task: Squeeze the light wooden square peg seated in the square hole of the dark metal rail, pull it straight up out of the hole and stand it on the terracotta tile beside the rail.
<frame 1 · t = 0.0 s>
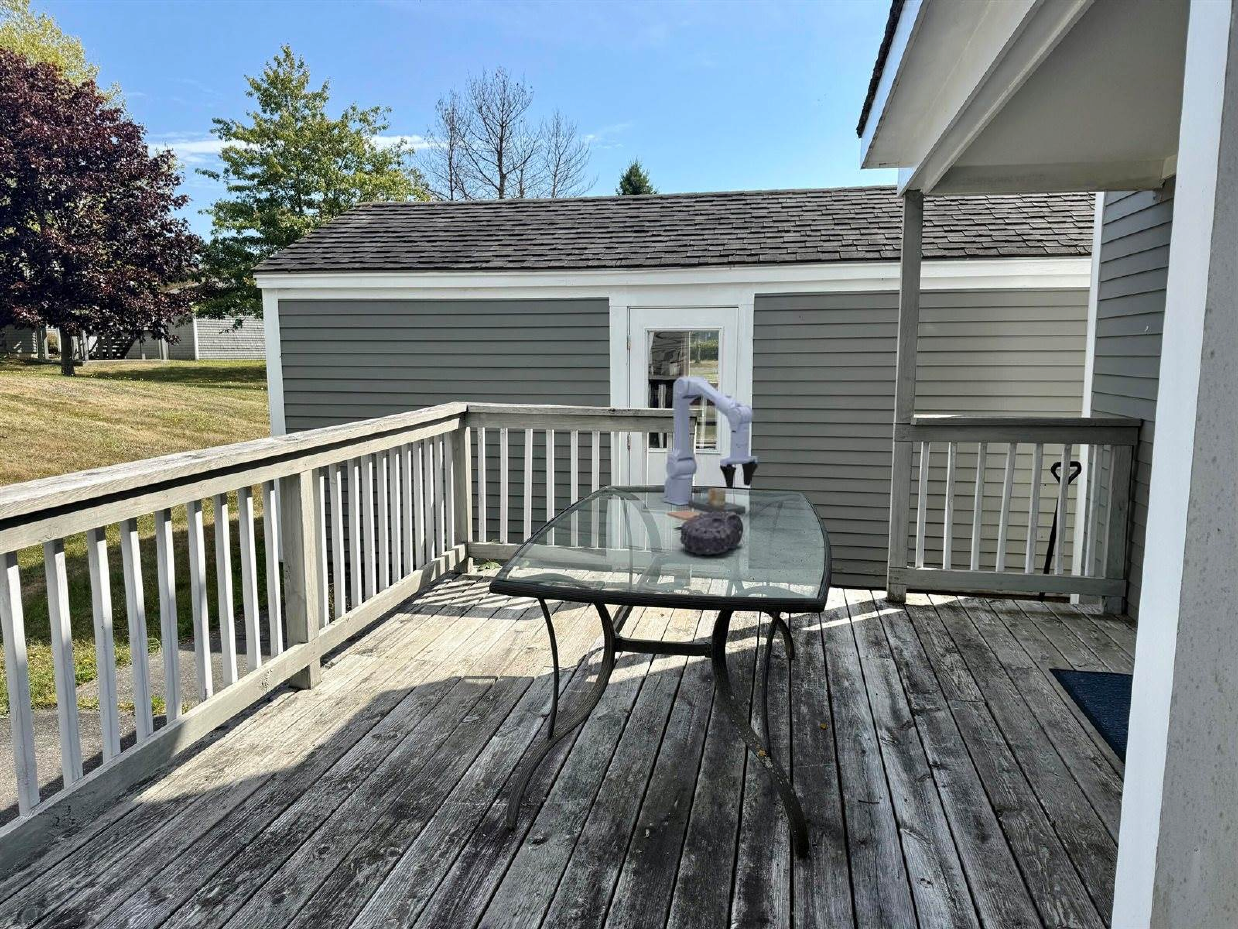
hand: (738, 486, 272), 10 cm above the table, tool pointing down, fingers open, 7 cm apart
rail: (716, 510, 284), on the table
tile: (686, 515, 275), on the table
peg: (716, 500, 283), in the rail
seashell: (714, 551, 233), on the table
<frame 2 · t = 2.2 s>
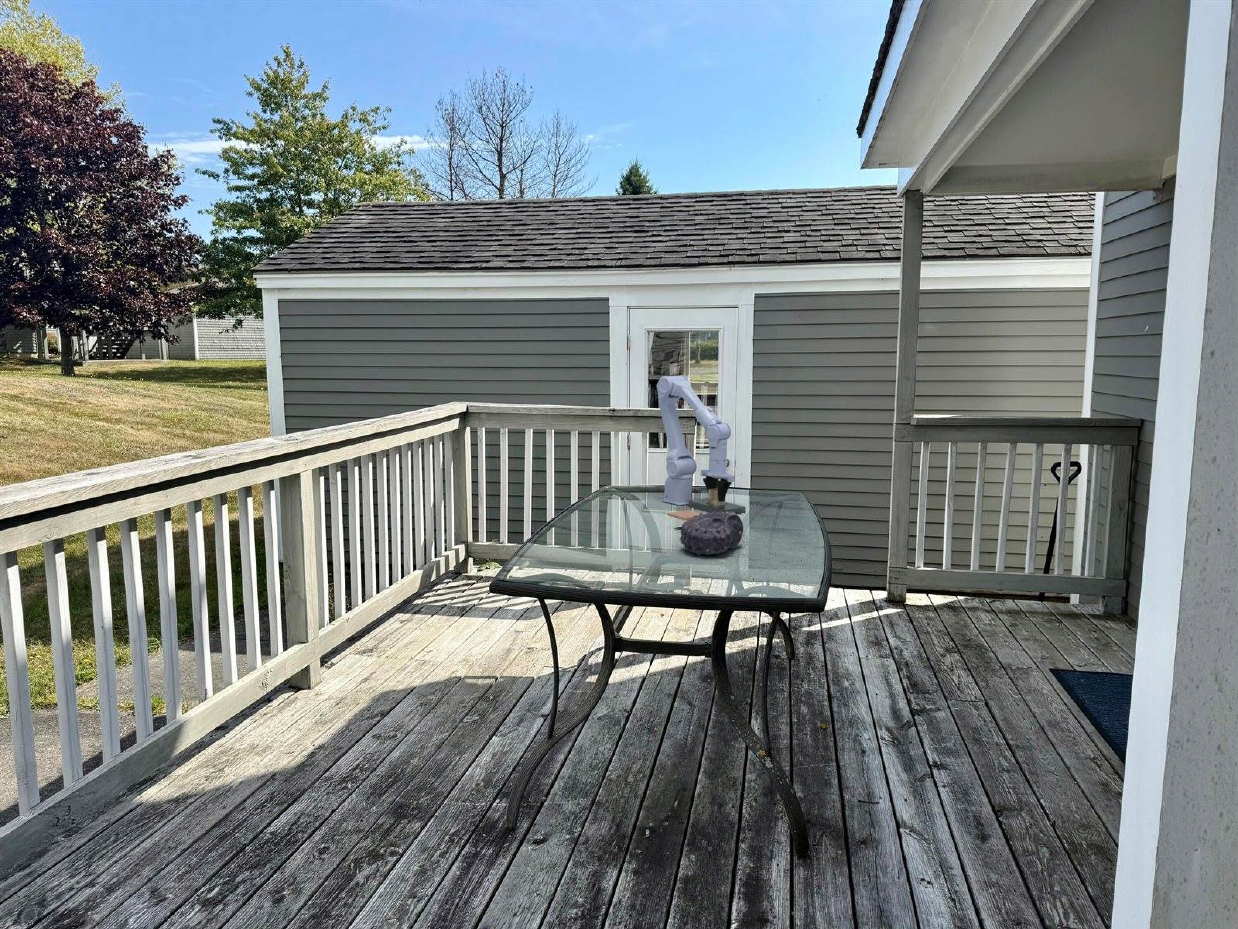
hand: (716, 500, 283), 3 cm above the table, tool pointing down, fingers closed on peg, 4 cm apart
peg: (716, 499, 283), in the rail, touching gripper
everything else where it was.
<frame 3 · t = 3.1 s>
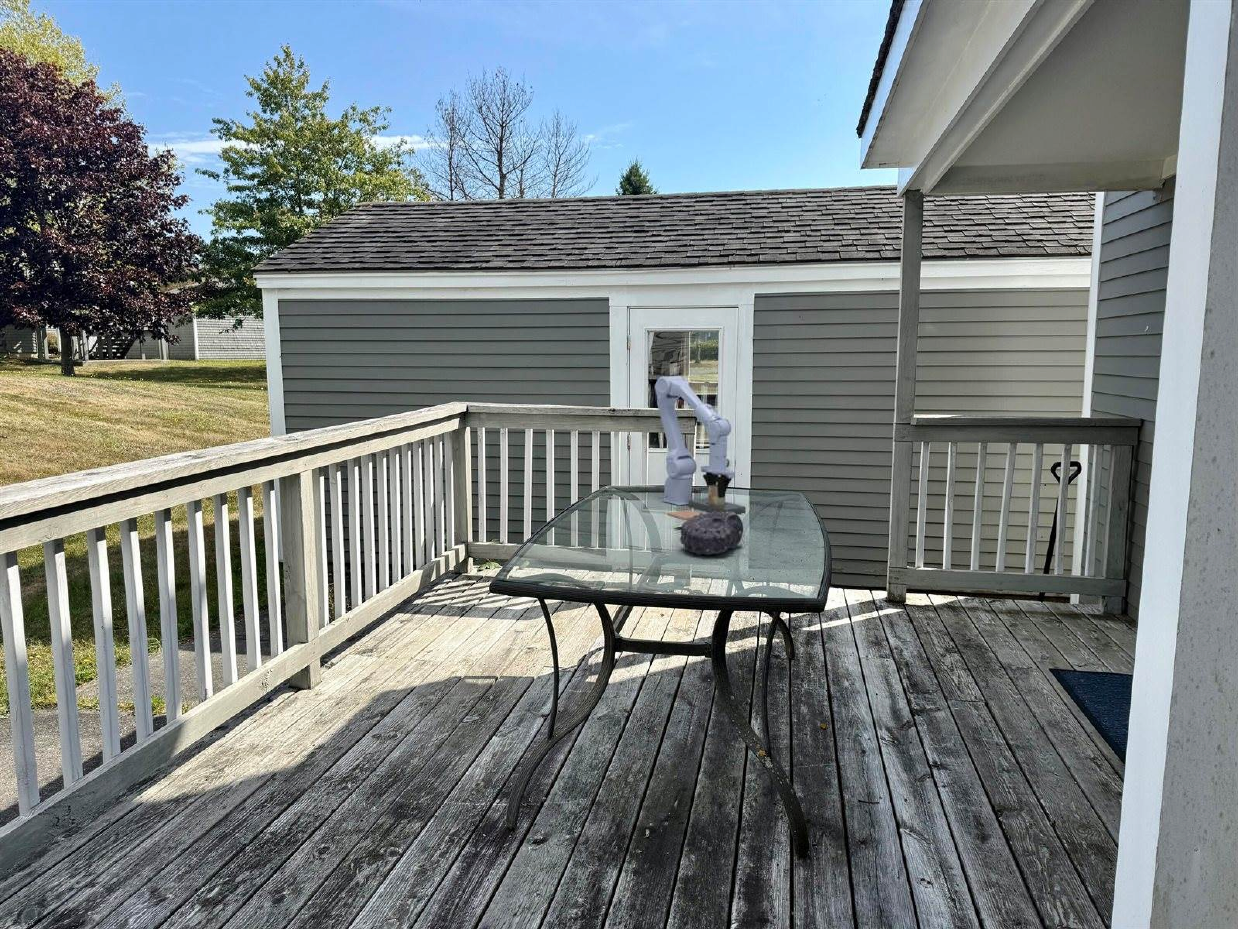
hand: (716, 496, 283), 5 cm above the table, tool pointing down, fingers closed on peg, 4 cm apart
peg: (716, 496, 283), point 5 cm above the table, touching gripper
everything else where it was.
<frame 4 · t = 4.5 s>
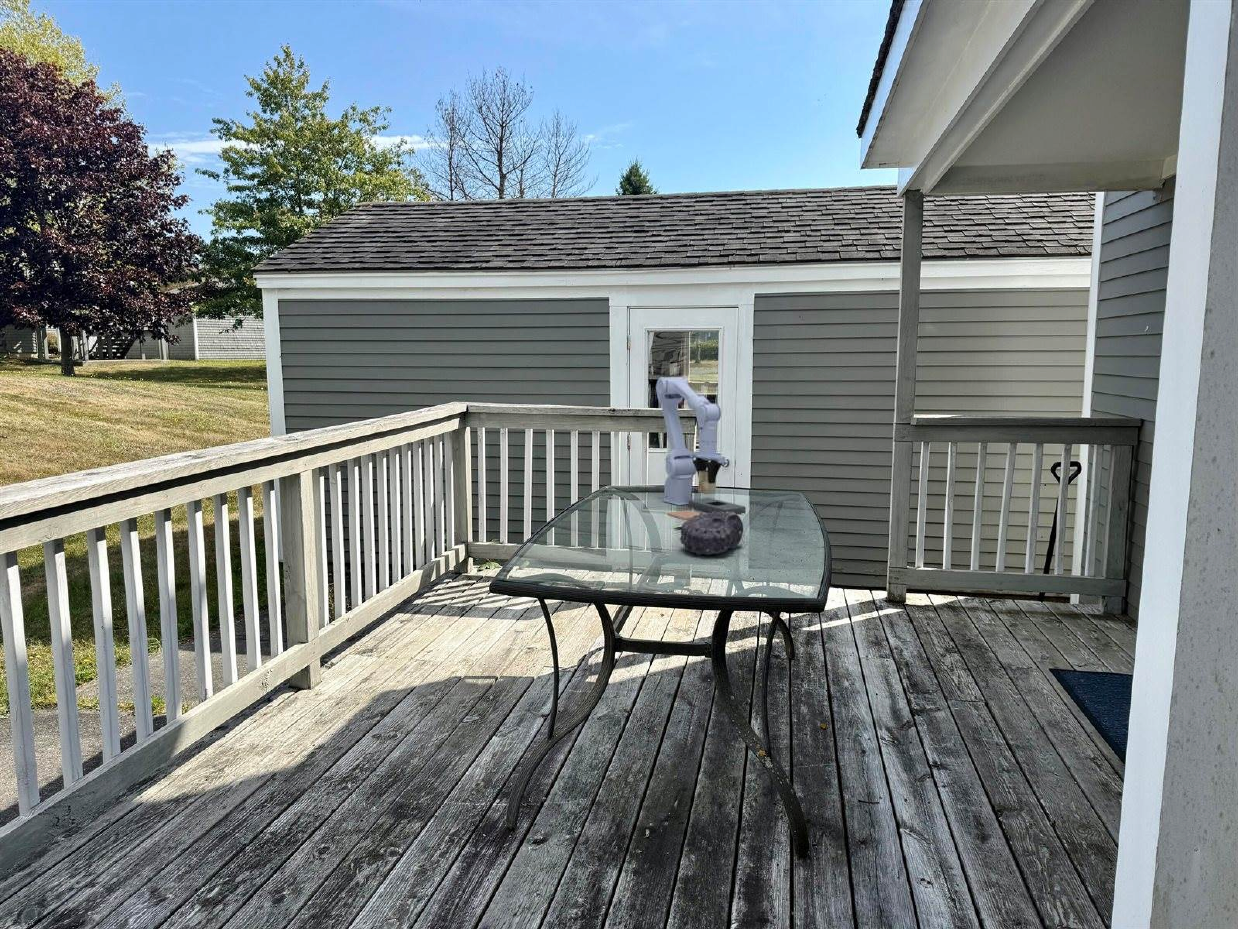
hand: (706, 482, 279), 10 cm above the table, tool pointing down, fingers closed on peg, 4 cm apart
peg: (707, 481, 279), point 10 cm above the table, touching gripper
everything else where it was.
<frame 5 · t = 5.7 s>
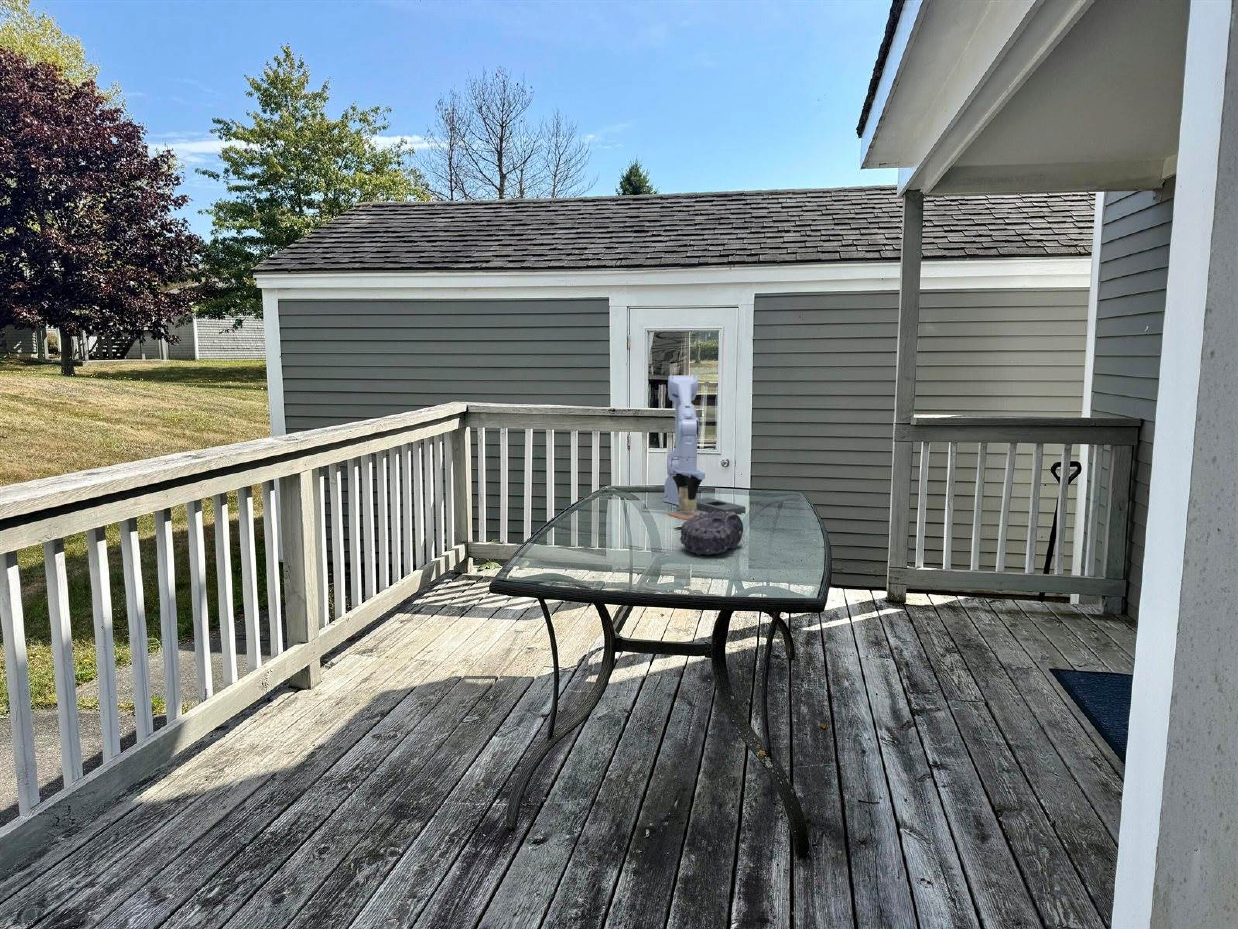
hand: (687, 498, 274), 6 cm above the table, tool pointing down, fingers closed on peg, 4 cm apart
peg: (687, 498, 274), point 6 cm above the table, touching gripper
everything else where it was.
when the fingers open (5 cm above the table, at t = 6.6 s): peg drops 1 cm, resting on tile.
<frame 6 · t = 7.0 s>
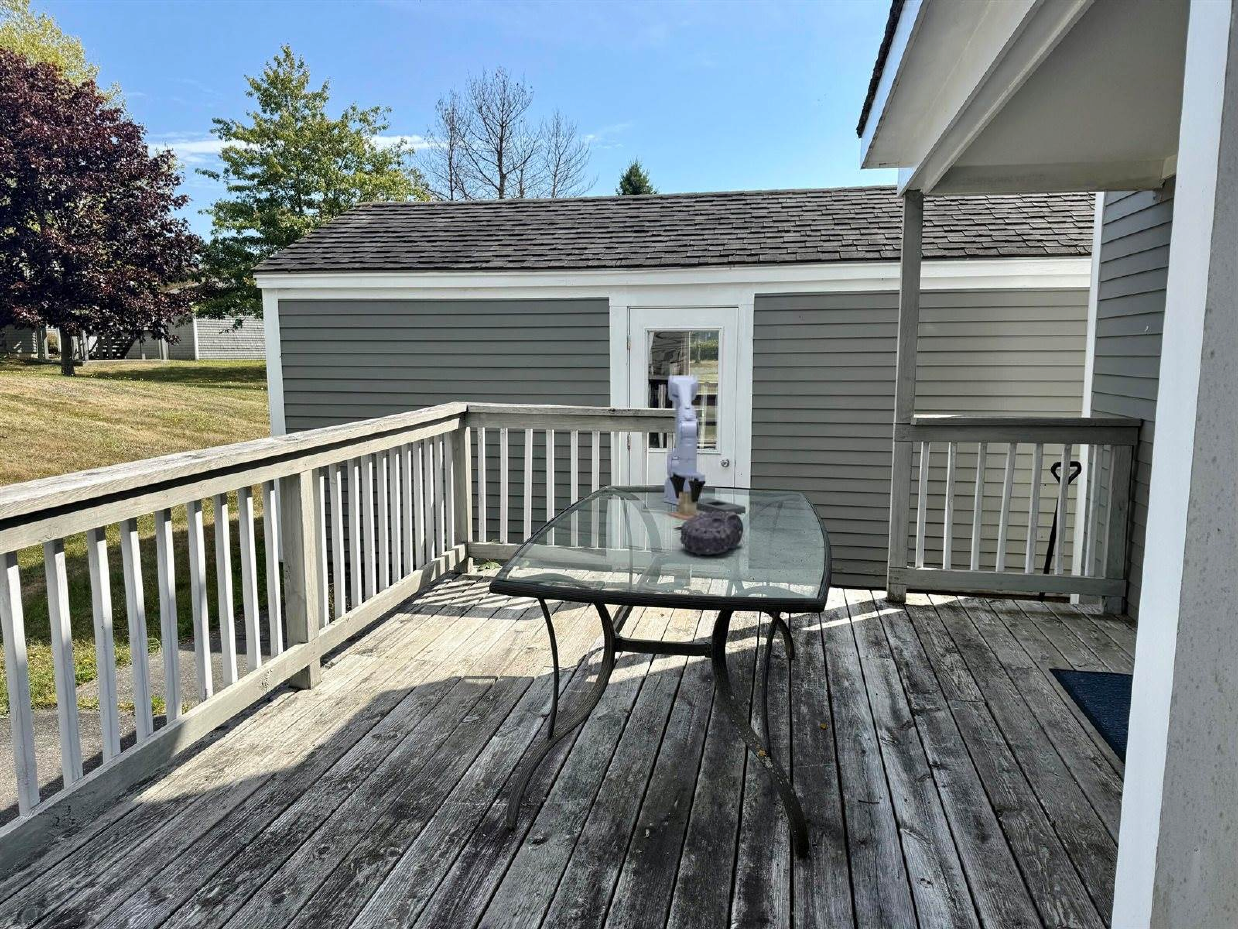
hand: (687, 500, 274), 5 cm above the table, tool pointing down, fingers open, 7 cm apart
peg: (687, 503, 274), on the tile, point 4 cm above the table
everything else where it was.
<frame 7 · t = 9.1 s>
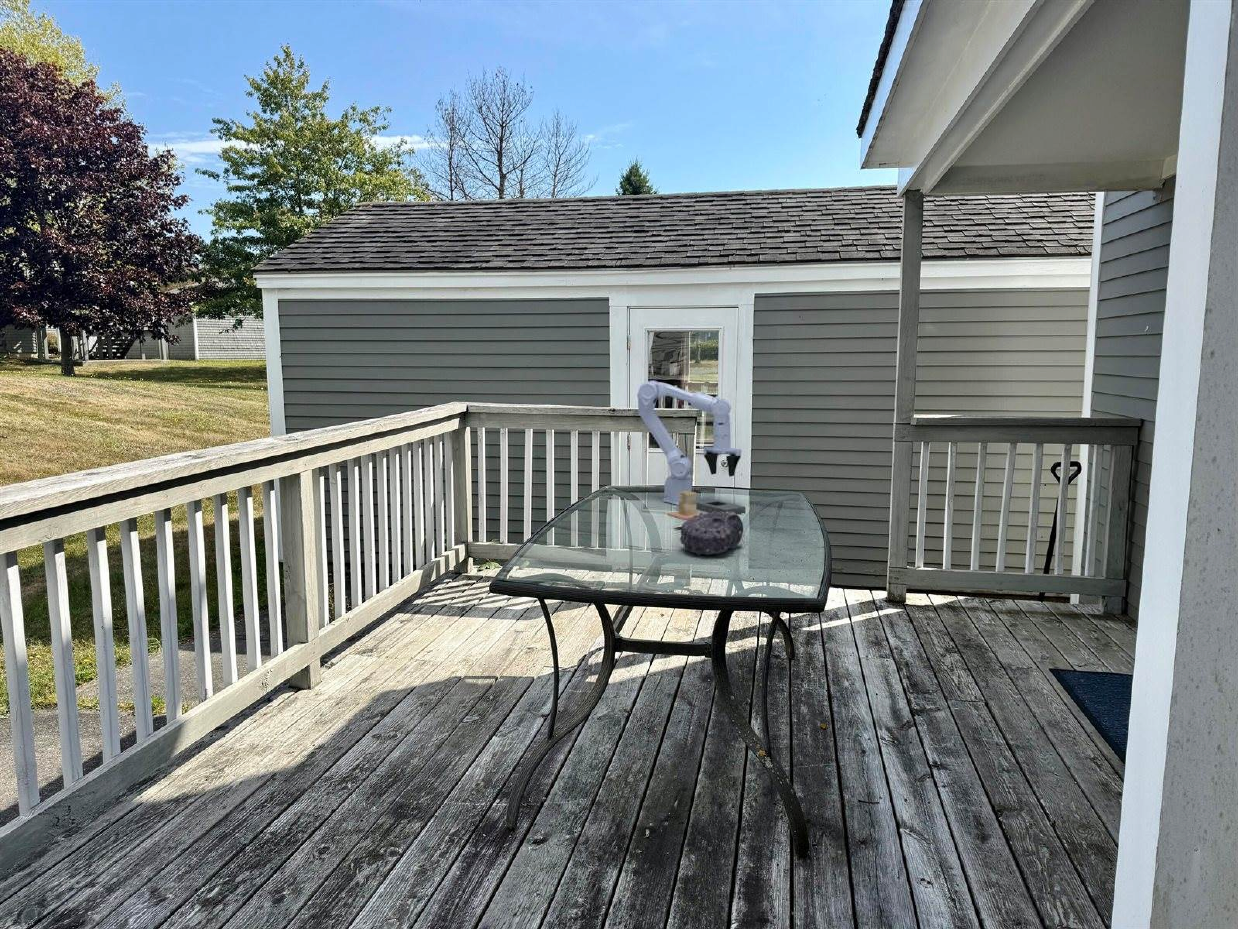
hand: (722, 475, 291), 10 cm above the table, tool pointing down, fingers open, 7 cm apart
nothing on the table moved.
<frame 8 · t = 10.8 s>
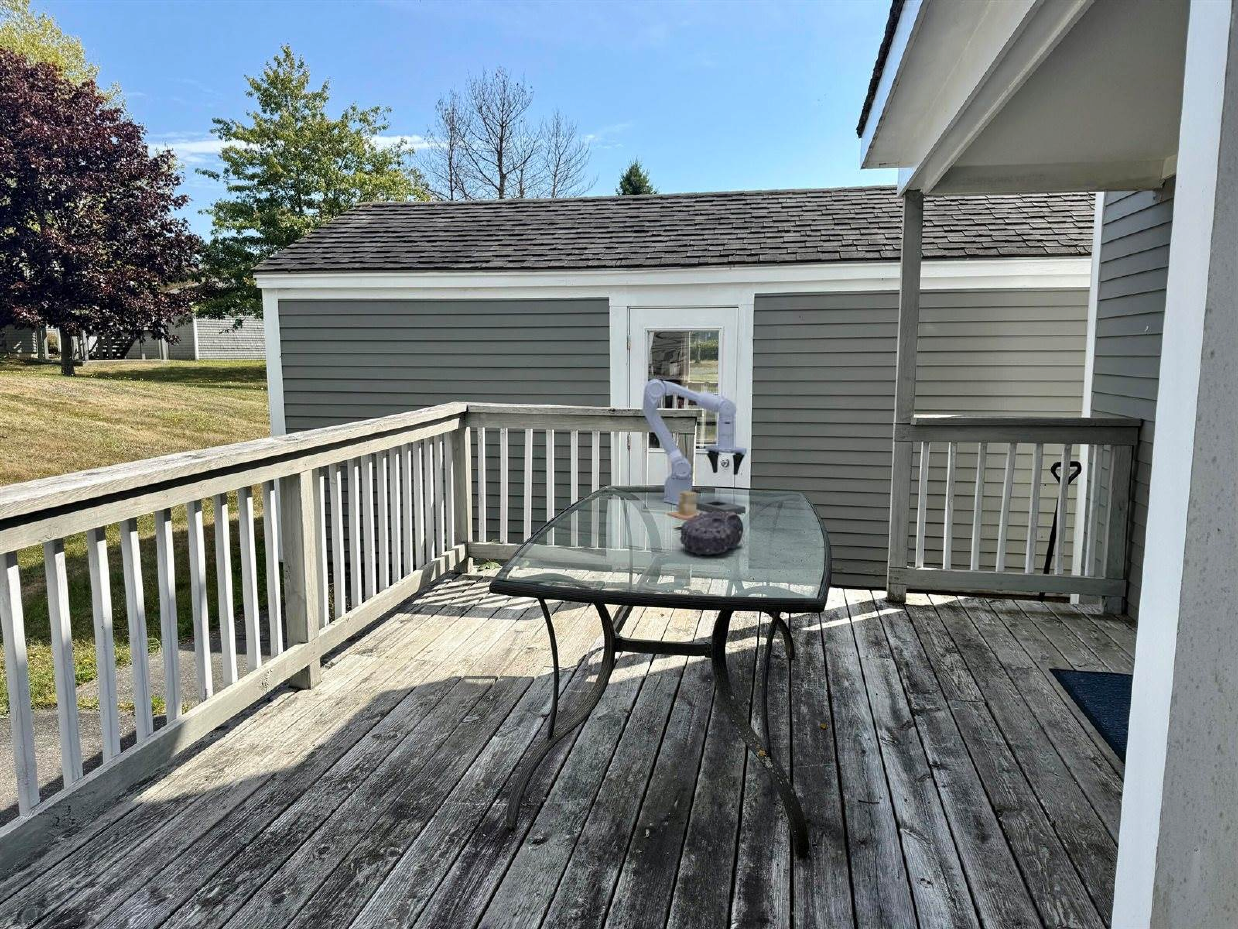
hand: (725, 473, 294), 10 cm above the table, tool pointing down, fingers open, 7 cm apart
nothing on the table moved.
at the end: peg 0.3 cm off-centre on the tile, point 4.1 cm above the tile's base; peg tilted 0°; the gripper is holding nothing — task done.
